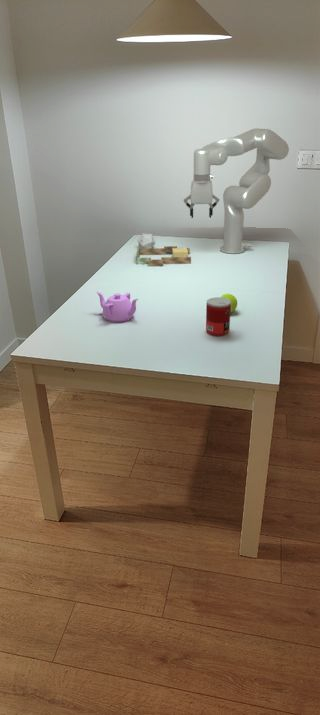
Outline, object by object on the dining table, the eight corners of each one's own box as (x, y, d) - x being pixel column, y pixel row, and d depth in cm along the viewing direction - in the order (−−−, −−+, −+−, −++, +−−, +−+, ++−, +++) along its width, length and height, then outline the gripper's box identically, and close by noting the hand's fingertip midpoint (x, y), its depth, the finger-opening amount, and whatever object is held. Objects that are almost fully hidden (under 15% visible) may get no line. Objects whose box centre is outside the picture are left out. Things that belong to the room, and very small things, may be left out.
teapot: (139, 321, 183) (138, 298, 179) (100, 325, 181) (98, 301, 177) (134, 309, 194) (133, 287, 190) (97, 312, 192) (95, 290, 187)
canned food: (228, 337, 170) (230, 306, 165) (204, 335, 172) (205, 305, 167) (230, 327, 177) (231, 297, 172) (206, 326, 178) (207, 296, 173)
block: (186, 256, 254) (186, 247, 252) (187, 261, 248) (187, 251, 246) (172, 257, 254) (172, 248, 252) (173, 261, 248) (173, 252, 246)
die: (138, 248, 271) (132, 236, 263) (150, 238, 272) (146, 226, 264) (146, 256, 267) (141, 245, 259) (159, 247, 268) (155, 235, 260)
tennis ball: (232, 317, 185) (233, 299, 182) (214, 314, 188) (215, 296, 185) (239, 310, 191) (240, 292, 187) (222, 307, 194) (222, 290, 190)
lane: (189, 251, 261) (189, 244, 259) (191, 265, 240) (191, 257, 239) (138, 252, 262) (138, 244, 260) (135, 266, 241) (135, 258, 239)
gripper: (220, 176, 237) (219, 215, 245) (182, 177, 237) (182, 215, 245) (221, 179, 230) (220, 218, 238) (182, 179, 230) (182, 219, 239)
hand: (201, 217), depth 242 cm, fingers open, 7 cm apart
